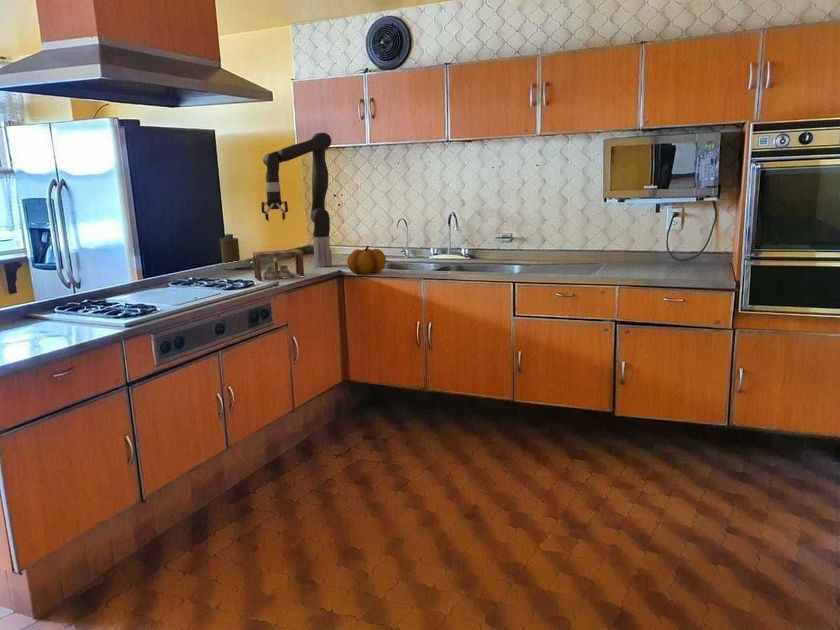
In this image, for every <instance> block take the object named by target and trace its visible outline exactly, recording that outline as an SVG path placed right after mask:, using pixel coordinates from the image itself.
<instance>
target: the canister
mask: <svg viewBox="0 0 840 630" xmlns="http://www.w3.org/2000/svg"><path fill="white" fill-rule="evenodd" d="M219 245H220V254H221V262H222V264H221V265H223V263H228V262H233V261H239V260H240V261H241V257H240V256H241V255H240V245H239V238H237V237H234V234H233V233H227V234H225V235H224V237H221V238H219Z"/></svg>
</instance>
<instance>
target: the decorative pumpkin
mask: <svg viewBox="0 0 840 630" xmlns="http://www.w3.org/2000/svg"><path fill="white" fill-rule="evenodd" d="M346 260H347V261H346V263H347V267H348V269H349V270H350V272H352V273H353V274H356V275H364V276H368V275H371V274H373V275H376V274H379V273H380V272H382V270H384V268H385V265H386V262H387V261H386V260H387V258H386V255H385V253H384V252H383V251H382V250H380V248H379V249H378V248H373V249H370V246H369V245H366V247H365V248H364V249H359V248H358V249H354V250H353V251H351V253H350V254H348V256H347V259H346Z"/></svg>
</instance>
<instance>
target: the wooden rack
mask: <svg viewBox="0 0 840 630" xmlns="http://www.w3.org/2000/svg"><path fill="white" fill-rule="evenodd" d="M282 256H285V257H286V256H294V260H295V262H294V264H295V274H296V275H297V274H300V275H299V277H300V276H304V277H305V271H304V270H305V269H304V268H305V267H304V253H303V251H302V250H300V249H298V248H294V249H282V250H268V251H267V250H266V251H265V250H264V251H253V252H252V260H253V271H254V274H253V275H254V278H255V279H256V280H262V281H263V279H262V269H261V268H262V267H261V258H268V257H269V258H271V257H282Z"/></svg>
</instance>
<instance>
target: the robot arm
mask: <svg viewBox="0 0 840 630" xmlns="http://www.w3.org/2000/svg"><path fill="white" fill-rule="evenodd" d="M331 145H332V138H331V135H329V133H327V132H317V133H315V134H314V135H313V136H312V138H310V139H308V140H305V141H303V142H299V143H295V144H292V145H289V146H287V147H283V148H281V149H279V150H276V151H273V152H269V153H267V154H265V155H264V156H263V158H262V162H263V164H264V165H265V166H266V173H265V185H266V186H265V191H266V202H265V201H264V202H263V201H261V205H260V206H261V213H262V214H264V216H265V220H266V221H267V222H269V221H270V219H269V213H270V211H271V210H279V211H280V212H281V219H282V221H285V219H286V213H288V212H289V206H288V201H287V200H284V201H282V196H281V184H280V175H279V173H280V164H281V163H284V162H289V161H292V160H294V159H296V158H299V157H301V156H304V155H306V154H309V153H311V152H312V165H311V166H312V170H311V171H312V173H311V174H312V175H311V193H312V194H311V195H312V199H311V209H310V219H311V221H312V222H313V225H314V226H313V228H314V229H313V232H312V236H313V237H312V238H313V239H312V241H313V252H314V253H313V254H314V265H315V267H316V268H324V267H325V266H327V267H332V266H333V264H332V262H333V261H332V258H333V257H332V249H331V243H330V242H331V241H330V232H331V221H330V220H331V219H330V214H329V212H328V211H327V210H326V208H325V207H326V204H325V202H326V195H327V193H328V188H329V170H328V166H327V162H326V149H328V148H330V146H331ZM266 205H267V206H268V207H267V208H266V210H265V206H266ZM282 205H283V206H284V209H283V207H282ZM331 265H332V266H331Z"/></svg>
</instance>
